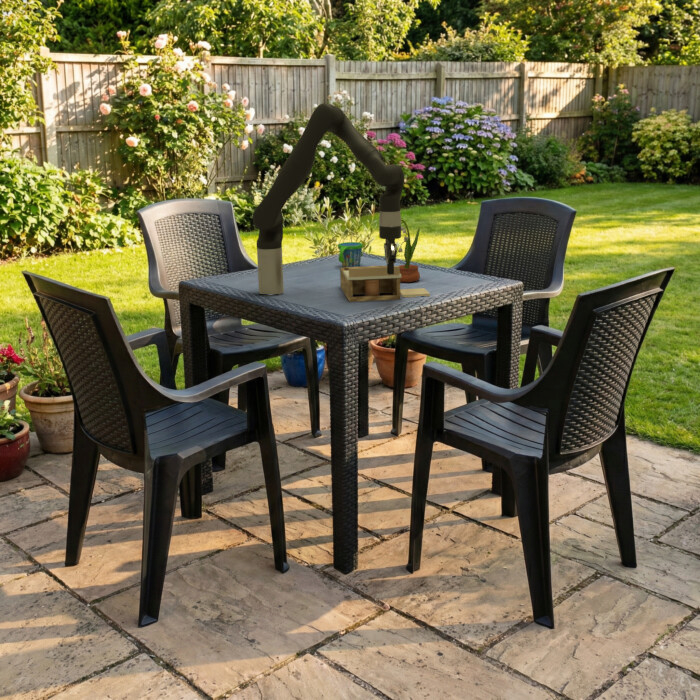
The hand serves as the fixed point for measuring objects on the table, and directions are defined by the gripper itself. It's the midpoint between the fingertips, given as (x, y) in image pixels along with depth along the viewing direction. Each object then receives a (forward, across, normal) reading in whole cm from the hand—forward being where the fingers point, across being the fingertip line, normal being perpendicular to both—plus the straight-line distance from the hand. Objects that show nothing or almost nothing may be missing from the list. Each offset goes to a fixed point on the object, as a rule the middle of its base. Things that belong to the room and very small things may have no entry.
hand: (390, 274), depth 305 cm
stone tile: (+10, -13, +11) cm, 19 cm away
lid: (+2, -12, -5) cm, 13 cm away
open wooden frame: (+10, -19, -5) cm, 22 cm away
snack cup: (+10, -74, -5) cm, 75 cm away
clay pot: (+10, -12, -5) cm, 16 cm away
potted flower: (+10, -38, +12) cm, 41 cm away
